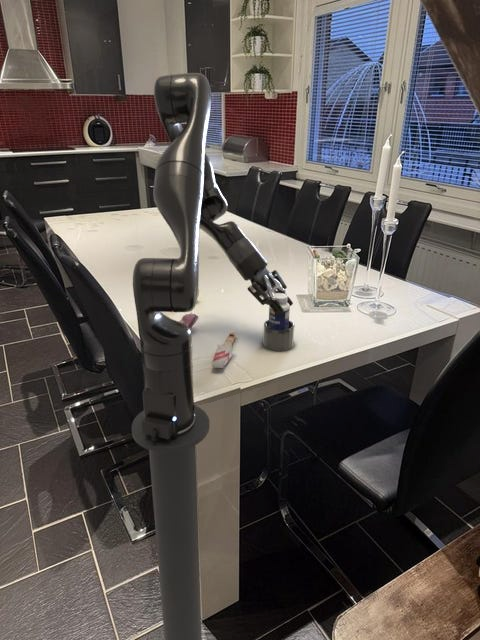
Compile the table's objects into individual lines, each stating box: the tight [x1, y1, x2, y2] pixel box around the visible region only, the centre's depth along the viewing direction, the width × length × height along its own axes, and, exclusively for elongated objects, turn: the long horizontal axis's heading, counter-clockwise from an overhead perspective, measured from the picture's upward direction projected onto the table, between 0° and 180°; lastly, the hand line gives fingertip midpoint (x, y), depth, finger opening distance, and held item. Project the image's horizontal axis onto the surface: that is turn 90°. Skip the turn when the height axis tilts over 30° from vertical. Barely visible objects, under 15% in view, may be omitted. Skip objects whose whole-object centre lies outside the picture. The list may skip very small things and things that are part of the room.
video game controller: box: [178, 311, 199, 331], centre depth 131 cm, size 10×5×7 cm, turn 159°
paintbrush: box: [211, 332, 236, 369], centre depth 120 cm, size 4×3×20 cm
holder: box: [262, 319, 295, 352], centre depth 125 cm, size 8×8×6 cm
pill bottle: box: [268, 293, 291, 330], centre depth 123 cm, size 5×5×10 cm
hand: (285, 309), depth 121 cm, fingers closed on pill bottle, 5 cm apart
